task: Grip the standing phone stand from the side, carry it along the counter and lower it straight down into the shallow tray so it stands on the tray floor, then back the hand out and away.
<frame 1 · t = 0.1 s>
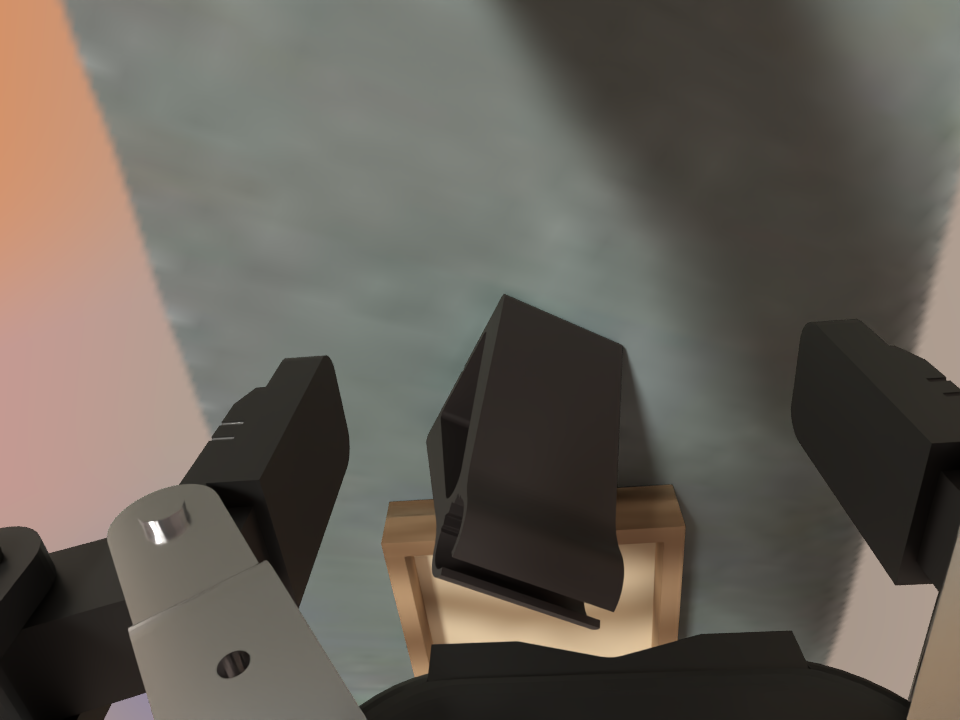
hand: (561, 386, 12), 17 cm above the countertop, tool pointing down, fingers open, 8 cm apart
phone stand: (519, 389, 33), on the countertop
shallow tray: (537, 589, 40), on the countertop
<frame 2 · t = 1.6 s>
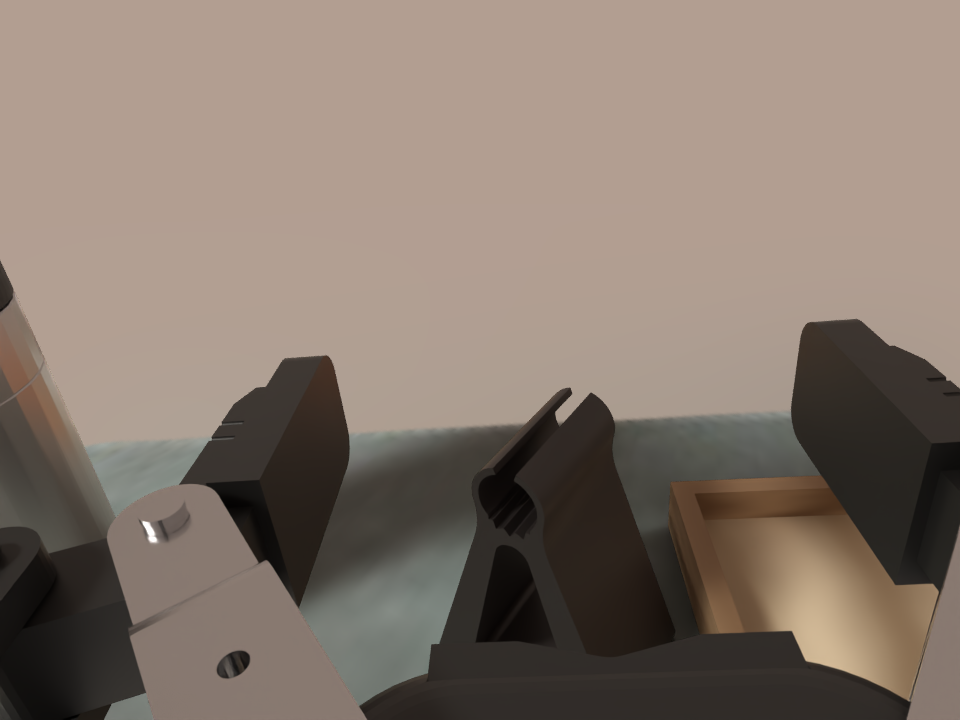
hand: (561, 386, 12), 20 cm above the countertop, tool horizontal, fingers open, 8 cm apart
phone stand: (556, 647, 31), on the countertop
shallow tray: (875, 636, 30), on the countertop
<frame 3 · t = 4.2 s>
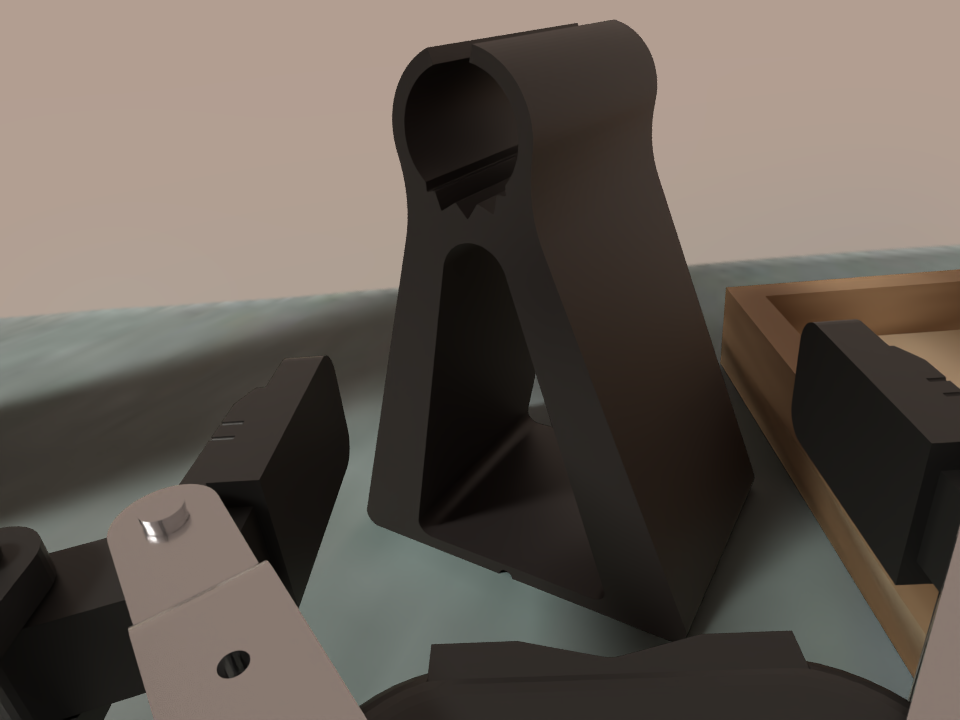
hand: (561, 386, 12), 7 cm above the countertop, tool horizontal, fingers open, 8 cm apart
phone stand: (560, 511, 19), on the countertop
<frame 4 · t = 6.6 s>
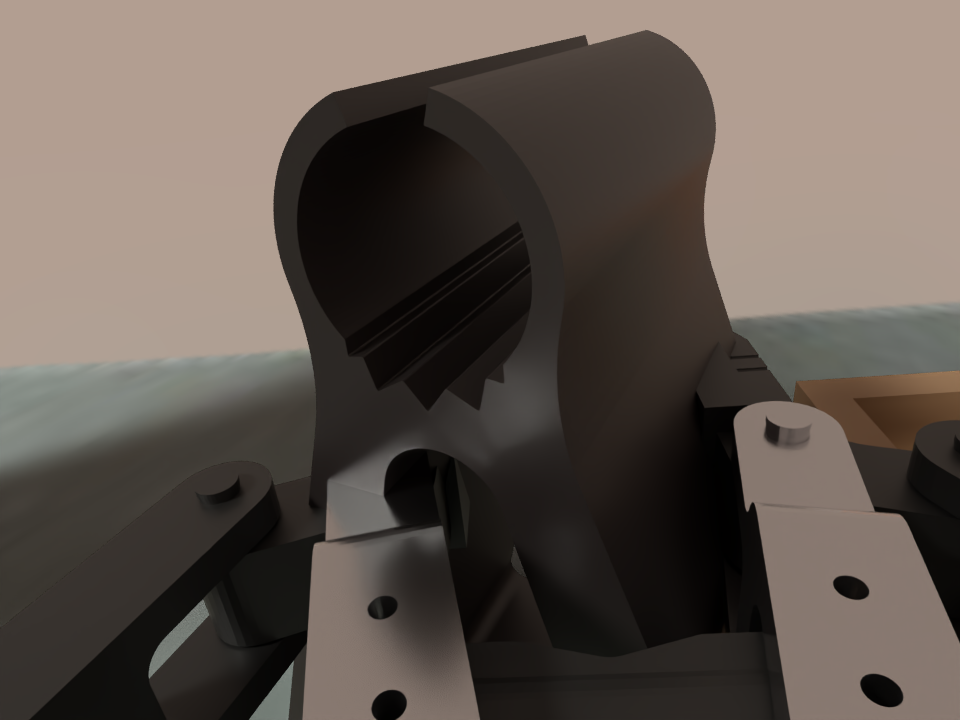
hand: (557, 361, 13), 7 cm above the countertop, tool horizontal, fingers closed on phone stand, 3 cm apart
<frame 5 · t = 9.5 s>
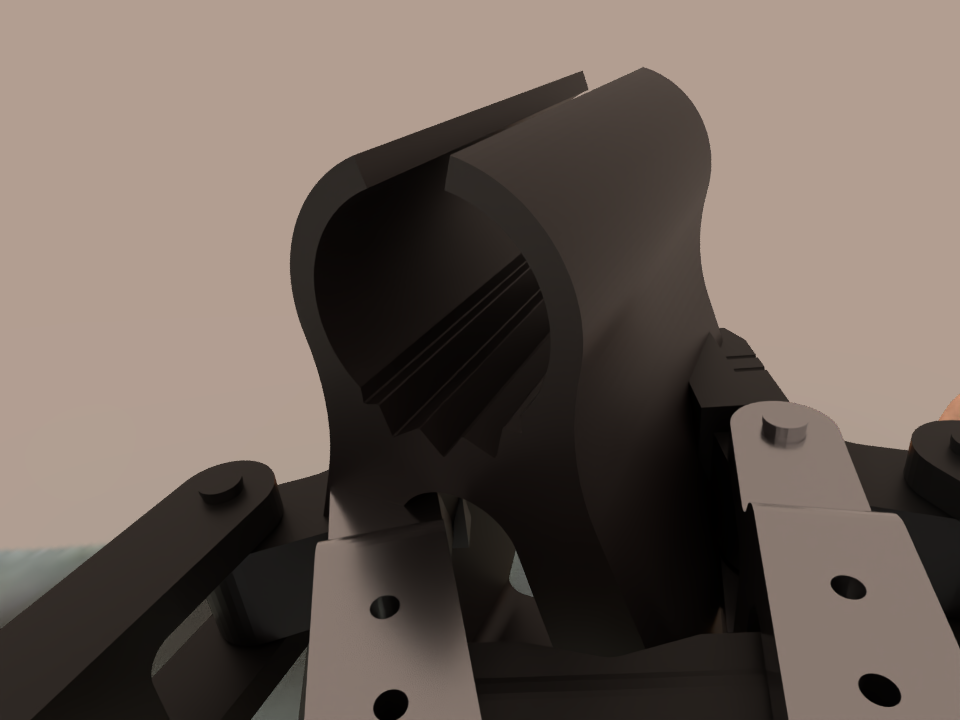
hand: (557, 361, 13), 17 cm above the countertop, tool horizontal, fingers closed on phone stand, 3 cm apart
when the fingers open (9 cm above the countertop, at t = 11.8 s): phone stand moves 2 cm, resting on shallow tray.
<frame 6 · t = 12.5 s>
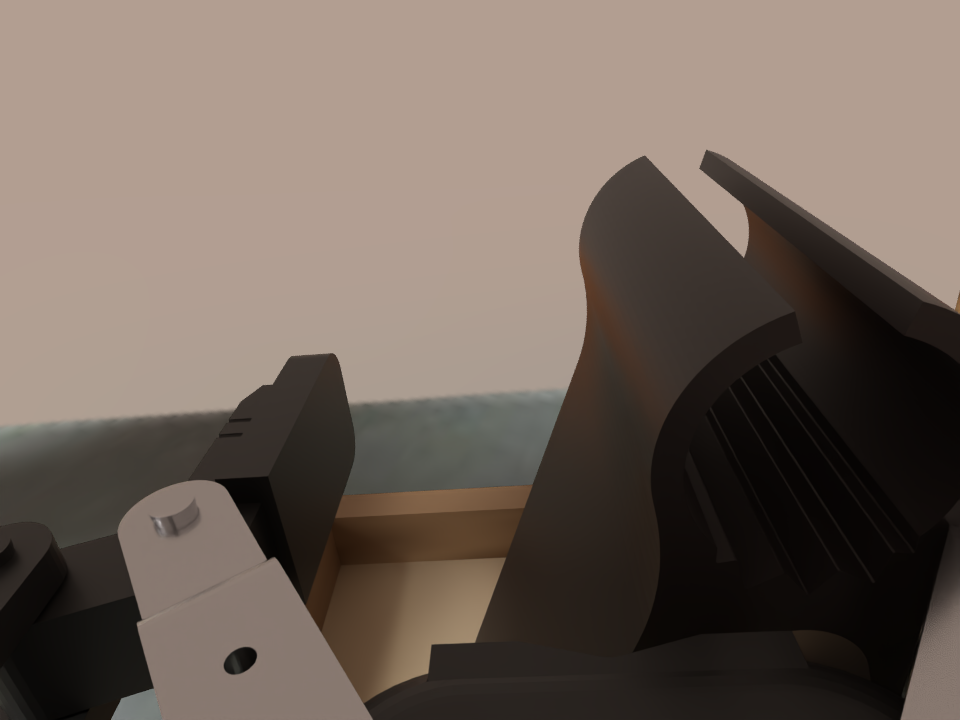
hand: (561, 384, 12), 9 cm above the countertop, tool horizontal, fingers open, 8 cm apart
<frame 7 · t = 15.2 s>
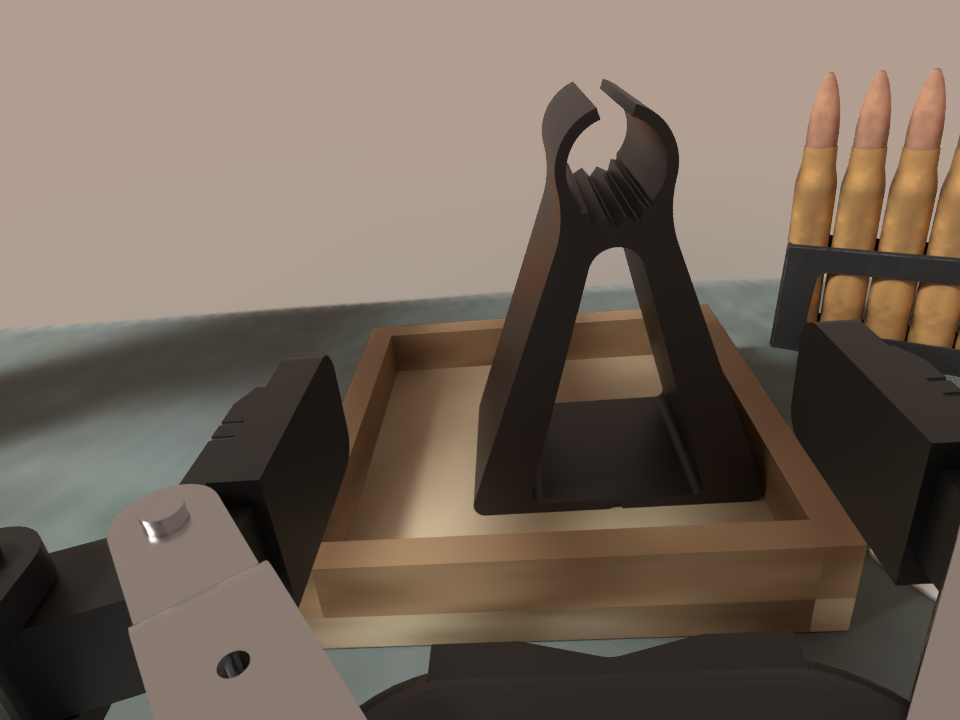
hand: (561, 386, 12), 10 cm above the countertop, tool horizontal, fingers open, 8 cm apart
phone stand: (603, 457, 24), point 1 cm above the countertop, touching shallow tray
ammunition clip: (899, 362, 30), on the countertop
shallow tray: (549, 472, 25), on the countertop
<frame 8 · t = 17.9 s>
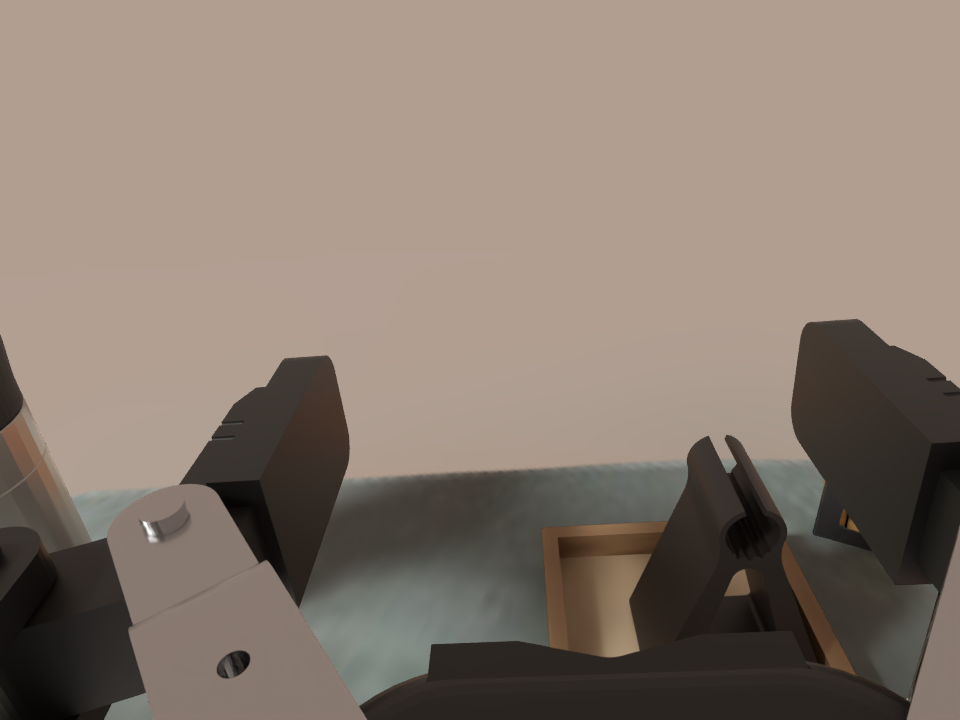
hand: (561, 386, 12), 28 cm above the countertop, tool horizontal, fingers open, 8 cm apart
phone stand: (718, 645, 38), point 1 cm above the countertop, touching shallow tray
ammunition clip: (903, 552, 44), on the countertop
shallow tray: (679, 649, 39), on the countertop
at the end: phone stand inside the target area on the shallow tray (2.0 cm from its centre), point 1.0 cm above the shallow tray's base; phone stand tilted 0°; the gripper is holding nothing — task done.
